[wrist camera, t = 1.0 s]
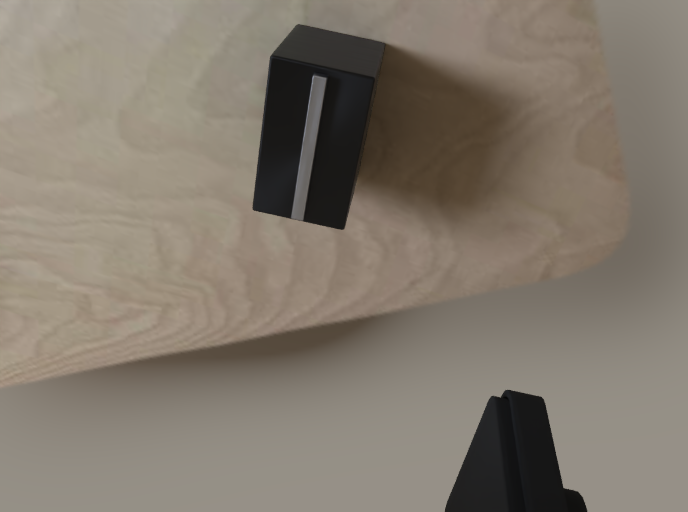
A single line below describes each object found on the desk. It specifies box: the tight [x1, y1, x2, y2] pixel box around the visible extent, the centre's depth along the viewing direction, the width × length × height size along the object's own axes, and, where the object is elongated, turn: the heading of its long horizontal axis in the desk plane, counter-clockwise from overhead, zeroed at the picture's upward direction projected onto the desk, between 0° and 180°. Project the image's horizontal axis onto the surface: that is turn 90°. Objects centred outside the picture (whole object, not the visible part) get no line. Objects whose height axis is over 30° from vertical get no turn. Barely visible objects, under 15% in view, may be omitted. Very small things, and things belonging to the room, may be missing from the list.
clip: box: [253, 24, 385, 230], centre depth 21 cm, size 5×3×4 cm, turn 170°
